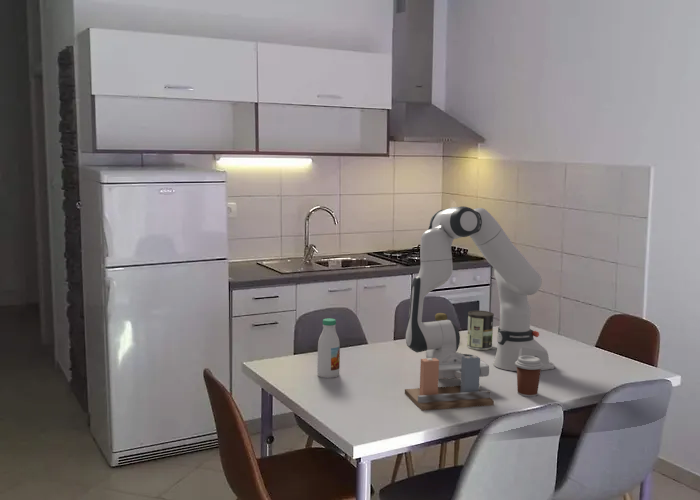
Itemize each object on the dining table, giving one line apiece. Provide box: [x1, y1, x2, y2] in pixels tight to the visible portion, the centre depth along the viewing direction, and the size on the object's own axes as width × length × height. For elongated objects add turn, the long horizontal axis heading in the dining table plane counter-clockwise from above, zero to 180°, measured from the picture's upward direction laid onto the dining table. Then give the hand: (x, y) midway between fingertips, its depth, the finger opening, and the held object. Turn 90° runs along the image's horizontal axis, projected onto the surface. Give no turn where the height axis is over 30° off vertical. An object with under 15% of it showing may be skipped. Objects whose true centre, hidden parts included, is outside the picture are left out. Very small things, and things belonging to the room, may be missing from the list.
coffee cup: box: [515, 356, 543, 398], centre depth 241 cm, size 9×9×12 cm
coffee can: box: [466, 310, 494, 351], centre depth 298 cm, size 10×10×14 cm
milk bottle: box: [316, 317, 341, 379], centre depth 256 cm, size 8×8×20 cm
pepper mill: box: [434, 312, 448, 321], centre depth 310 cm, size 6×6×11 cm
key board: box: [404, 384, 495, 412], centre depth 235 cm, size 24×16×4 cm, turn 105°
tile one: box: [419, 358, 439, 395], centre depth 232 cm, size 5×3×12 cm, turn 105°
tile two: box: [460, 355, 481, 393], centre depth 235 cm, size 5×3×12 cm, turn 105°
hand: (467, 377), depth 237 cm, fingers closed, pressing on tile two
